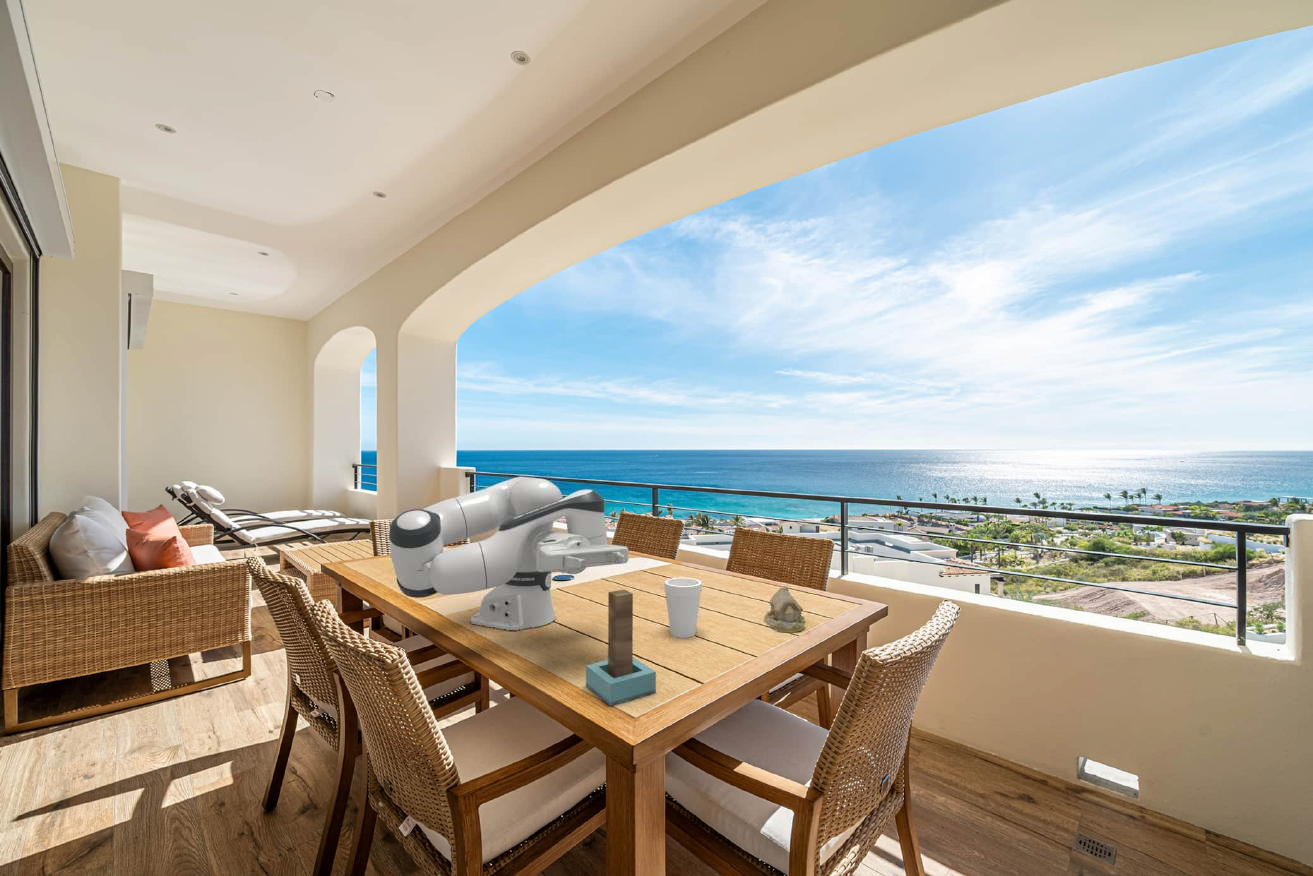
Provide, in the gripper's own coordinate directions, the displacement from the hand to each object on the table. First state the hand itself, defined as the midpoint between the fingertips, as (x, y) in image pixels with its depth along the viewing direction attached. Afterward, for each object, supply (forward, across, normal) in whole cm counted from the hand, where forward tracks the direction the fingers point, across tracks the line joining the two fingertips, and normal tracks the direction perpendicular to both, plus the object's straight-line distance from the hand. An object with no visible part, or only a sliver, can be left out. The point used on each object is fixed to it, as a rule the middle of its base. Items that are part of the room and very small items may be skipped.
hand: (602, 561), depth 111 cm
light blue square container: (+7, -1, -24) cm, 25 cm away
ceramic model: (0, -58, -22) cm, 62 cm away
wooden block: (+7, 0, -23) cm, 24 cm away
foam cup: (-11, -30, -22) cm, 39 cm away
